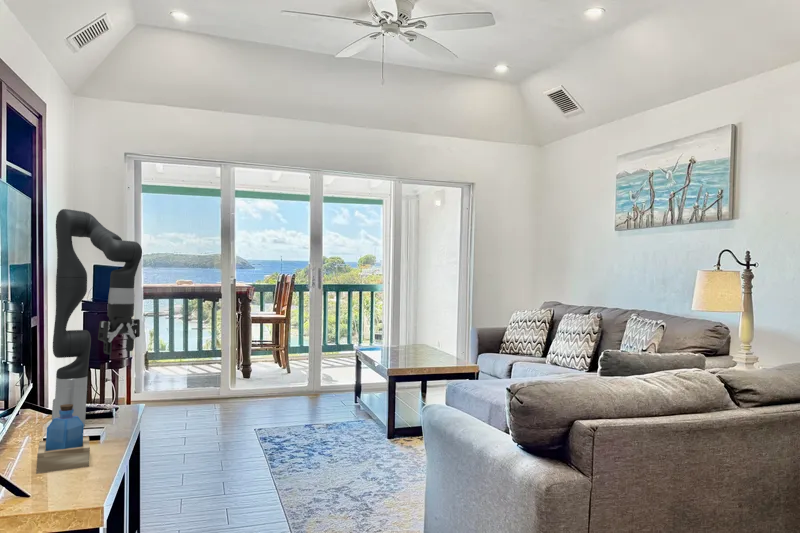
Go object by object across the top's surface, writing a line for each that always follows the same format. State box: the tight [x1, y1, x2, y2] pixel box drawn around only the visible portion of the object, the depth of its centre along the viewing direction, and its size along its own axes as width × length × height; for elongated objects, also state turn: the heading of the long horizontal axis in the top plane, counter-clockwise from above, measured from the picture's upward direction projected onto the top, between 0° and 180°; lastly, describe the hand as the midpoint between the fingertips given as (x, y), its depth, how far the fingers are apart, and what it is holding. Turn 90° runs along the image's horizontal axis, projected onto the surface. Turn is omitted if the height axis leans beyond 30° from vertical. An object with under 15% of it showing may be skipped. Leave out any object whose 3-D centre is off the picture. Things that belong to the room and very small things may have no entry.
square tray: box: [35, 435, 91, 474], centre depth 147 cm, size 12×12×5 cm
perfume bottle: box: [45, 404, 85, 451], centre depth 147 cm, size 6×6×12 cm
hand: (118, 352), depth 169 cm, fingers open, 8 cm apart
